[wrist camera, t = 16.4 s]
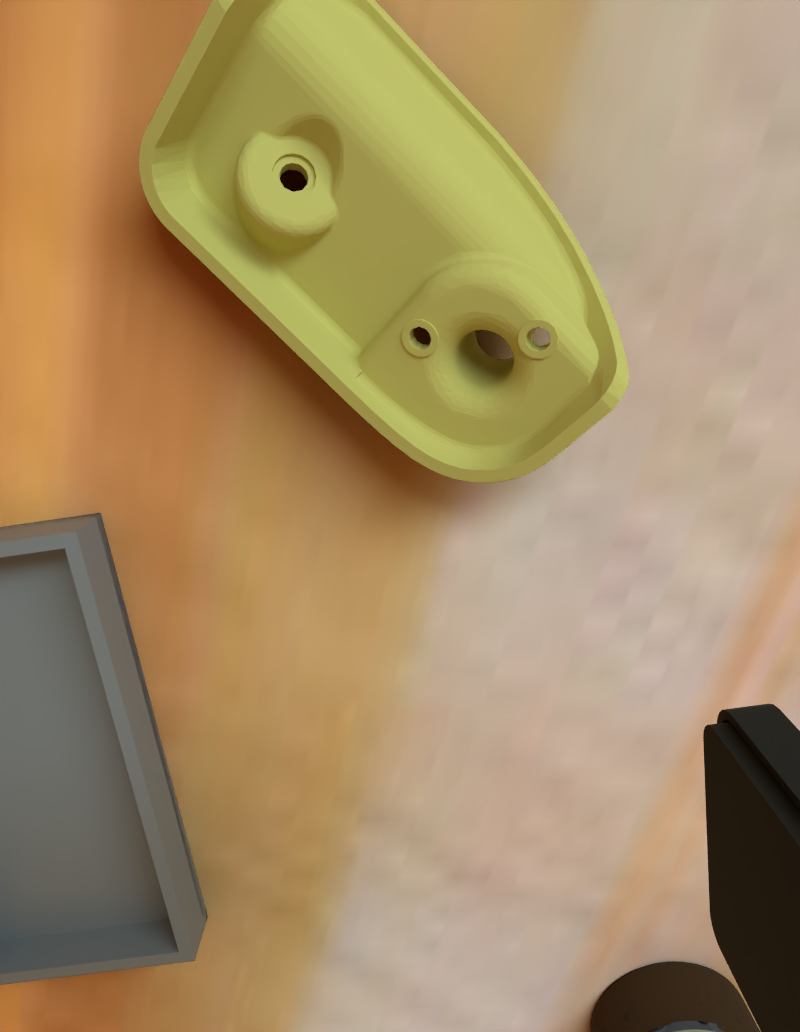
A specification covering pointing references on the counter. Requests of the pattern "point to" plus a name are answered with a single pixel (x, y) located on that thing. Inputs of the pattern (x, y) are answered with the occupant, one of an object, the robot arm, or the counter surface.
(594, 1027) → the olive oil
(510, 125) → the counter surface
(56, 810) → the tray
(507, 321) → the plastic component
